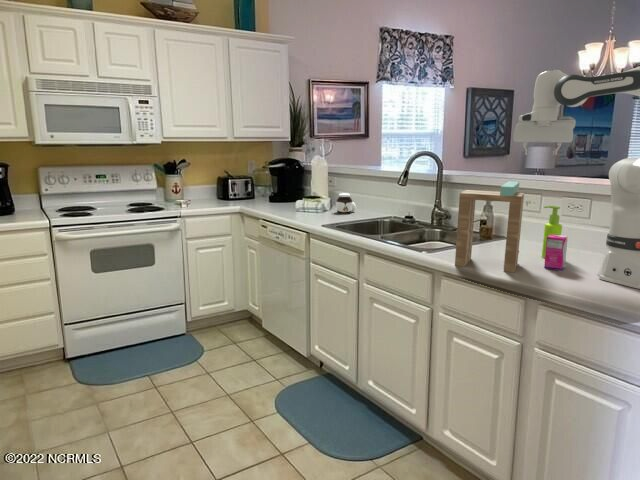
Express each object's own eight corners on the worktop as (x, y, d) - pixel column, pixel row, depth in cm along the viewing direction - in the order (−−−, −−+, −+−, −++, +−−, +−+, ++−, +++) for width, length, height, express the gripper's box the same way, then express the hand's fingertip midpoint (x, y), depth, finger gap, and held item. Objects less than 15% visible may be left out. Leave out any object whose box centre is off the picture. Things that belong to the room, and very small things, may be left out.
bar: (507, 189, 185) (508, 181, 185) (518, 190, 184) (519, 182, 183) (500, 195, 164) (500, 186, 164) (512, 196, 163) (513, 187, 162)
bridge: (461, 257, 187) (466, 189, 182) (517, 263, 179) (524, 192, 174) (454, 265, 175) (459, 193, 170) (514, 272, 166) (521, 196, 161)
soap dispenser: (542, 254, 193) (547, 204, 189) (560, 258, 188) (566, 206, 184) (536, 257, 189) (541, 206, 185) (554, 260, 184) (560, 207, 180)
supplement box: (547, 264, 177) (551, 234, 175) (565, 267, 174) (569, 236, 172) (543, 268, 173) (546, 236, 171) (561, 270, 169) (564, 238, 167)
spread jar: (335, 213, 297) (335, 194, 295) (337, 210, 308) (338, 192, 306) (354, 214, 295) (355, 195, 293) (356, 211, 306) (357, 193, 304)
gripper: (576, 116, 177) (571, 155, 180) (515, 117, 186) (512, 154, 189) (576, 115, 172) (572, 155, 175) (514, 116, 180) (511, 154, 183)
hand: (540, 154), depth 182 cm, fingers open, 8 cm apart
